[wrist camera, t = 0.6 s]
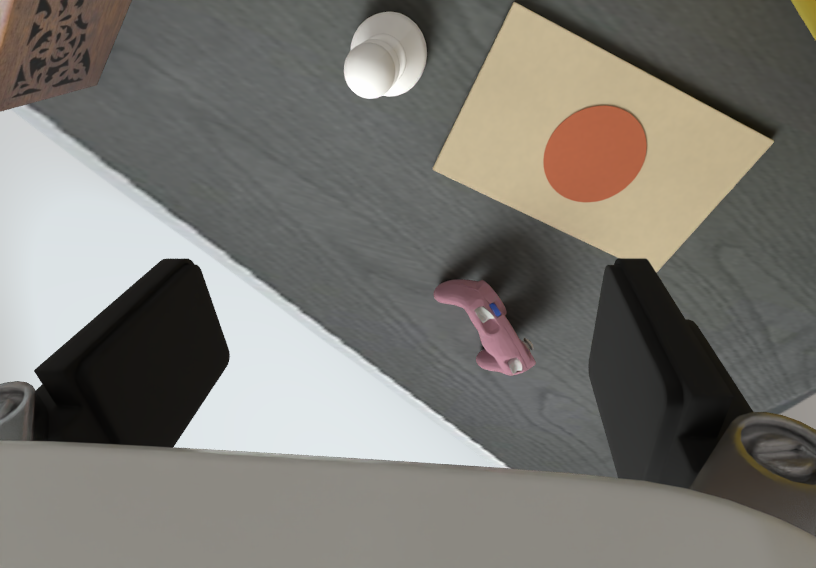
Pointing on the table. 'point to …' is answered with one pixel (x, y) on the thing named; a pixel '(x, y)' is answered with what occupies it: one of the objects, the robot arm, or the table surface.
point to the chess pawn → (385, 56)
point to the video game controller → (489, 325)
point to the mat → (593, 142)
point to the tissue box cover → (54, 46)
